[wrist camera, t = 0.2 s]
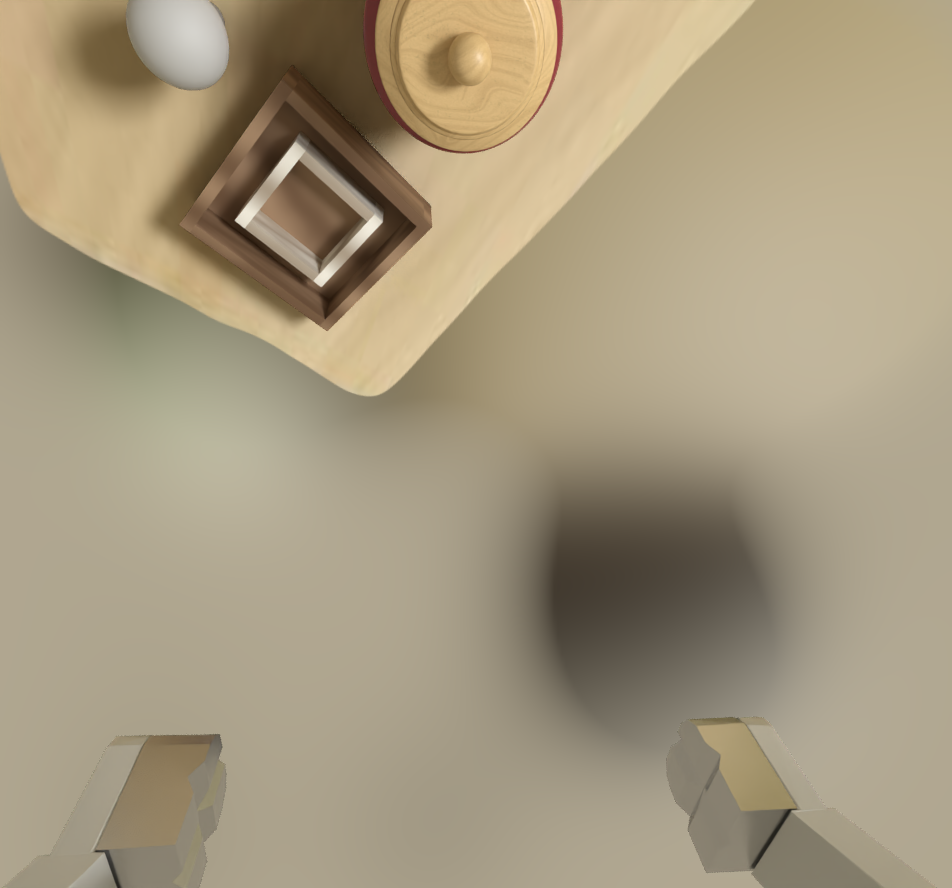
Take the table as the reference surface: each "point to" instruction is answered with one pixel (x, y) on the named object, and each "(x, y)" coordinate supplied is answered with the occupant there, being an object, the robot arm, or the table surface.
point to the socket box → (308, 205)
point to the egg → (179, 40)
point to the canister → (463, 66)
